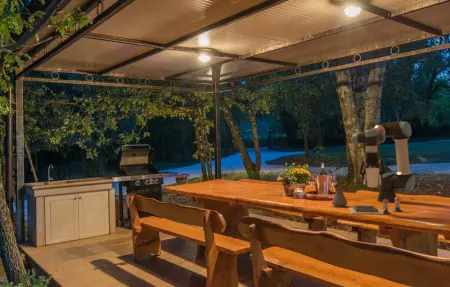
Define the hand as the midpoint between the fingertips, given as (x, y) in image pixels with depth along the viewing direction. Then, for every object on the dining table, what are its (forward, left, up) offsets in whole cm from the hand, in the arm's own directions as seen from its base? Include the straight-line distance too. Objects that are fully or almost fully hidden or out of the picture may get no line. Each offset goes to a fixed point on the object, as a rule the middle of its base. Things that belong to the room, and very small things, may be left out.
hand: (372, 184), depth 260 cm
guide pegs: (-1, +12, -19) cm, 23 cm away
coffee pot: (-29, -17, -20) cm, 38 cm away
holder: (-3, -5, -19) cm, 20 cm away
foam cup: (0, 0, -2) cm, 2 cm away
